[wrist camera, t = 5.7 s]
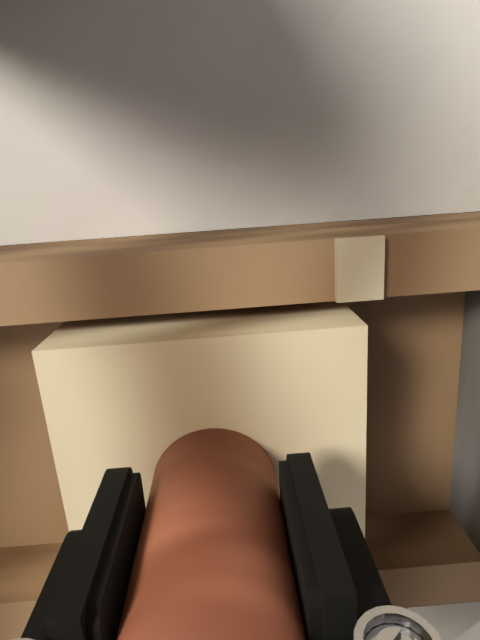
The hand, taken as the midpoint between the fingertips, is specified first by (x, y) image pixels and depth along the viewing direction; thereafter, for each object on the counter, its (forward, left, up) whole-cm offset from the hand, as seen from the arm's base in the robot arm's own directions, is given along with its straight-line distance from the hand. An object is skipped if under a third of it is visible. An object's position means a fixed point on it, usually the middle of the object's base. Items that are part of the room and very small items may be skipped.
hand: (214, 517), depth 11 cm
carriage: (0, 0, -5) cm, 5 cm away
